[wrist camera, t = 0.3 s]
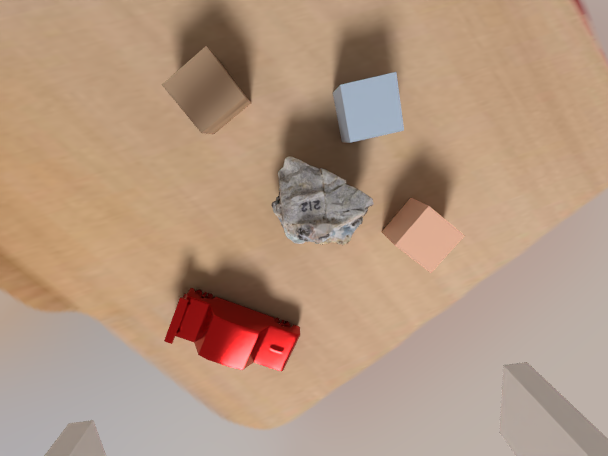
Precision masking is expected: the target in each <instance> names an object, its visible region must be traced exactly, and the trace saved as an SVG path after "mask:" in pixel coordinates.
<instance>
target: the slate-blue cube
mask: <svg viewBox="0 0 608 456" xmlns="http://www.w3.org/2000/svg"><path fill="white" fill-rule="evenodd" d="M333 97H334V102H335V107H336V113H337V118H338V124H339V129H340V135H341V140H342V142H346V143H351V142H356V141H360V140H364V139H369V138H373V137H377V136H382V135H386V134H391V133H395V132H399V131H404V126H403V119H402V111H401V104H400V96H399V89H398V81H397V74H396V72H394V73H389V74H385V75H381V76H376V77H372V78H368V79H363V80H359V81H355V82H350V83H346V84H342V85H340V86H339V87H338V88H337V89H336V90H335V91H334V92H333Z"/></svg>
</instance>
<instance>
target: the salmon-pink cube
mask: <svg viewBox="0 0 608 456" xmlns="http://www.w3.org/2000/svg"><path fill="white" fill-rule="evenodd" d="M382 233H383V234H384V235H385V236H386V237H387V238H388V239H389V240H390V241H391V242H392V243H393V244H394V245H395V246H397V247H398V248H399V249H400V250H402V251H403V252H404V253H406V254H407V255H408V256H409V257H411V258H412V259H413V260H415V261H416V262H417V263H419V264H420V265H421V266H422V267H424V268H425V269H426V270H428V271H429V272H430V273H432V271H433V270H434V269H435V268H436V267H437V266H438V265H439V264H440V263H441V262H442V260H443V259H444V258H445V257H446V256H447V255H448V254H449V253H450V252H451V250H452V249H453V248H454V247H455V246H456V245H457V244H458V243H459V242H460V241H461V239H462V238H463V237H464V236H465V235H464V234H462V233H461V232H460V231H459V230H458V229H456V228H455V227H454V226H453V225H451V224H450V223H449V222H448V221H447V220H445V219H444V218H443V217H442V216H441V215H439V214H438V213H437V212H436V211H435V210H433V209H432V208H431V207H430V206H428V205H426V204H424V203H422V202H420V201H417V200H415V199H413V198H410V199H409V200H408V201H407V202H406V204H405V205H404V206H403V207H402V208H401V210H400V211H399V212H398V213H397V214H396V215H395V217H394V218H393V219H392V220H391V221H390V223H389V224H388V225H387V226H386V227H385V228H384V230H383V231H382Z"/></svg>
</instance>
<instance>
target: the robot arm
mask: <svg viewBox="0 0 608 456" xmlns="http://www.w3.org/2000/svg"><path fill="white" fill-rule="evenodd" d="M499 433H500V434H501V436H502V437H503V438H504V440H505V441H506V443H507V444H508V445H509V447H510V448H511V450H512V451H513V452H514V454H515V455H516V456H608V438H607V437H605V436H604V435H603V434H602V433H601V432H600V431H599V430H598V429H597V428H596V427H595V426H594V425H593V424H592V423H591V422H590V421H588V420H587V418H585V417H584V416H583V415H582V414H581V413H580V412H579V411H578V410H577V409H576V408H575V407H574V406H573V405H572V404H571V403H570V402H569V401H568V400H566V399H565V398H564V397H563V396H562V395H561V394H560V393H559V392H558V391H557V390H556V389H555V388H554V387H553V386H552V385H551V384H550V383H548V382H547V381H546V380H545V379H544V378H543V377H542V376H541V375H540V374H539V373H538V372H537V371H536V370H535V369H534V368H533V367H532V366H530V365H529V364H528V363H527V362H524V363H517V364H509V365H503V381H502V397H501V414H500V432H499ZM45 456H106V454H105V451H104V448H103V446H102V443H101V440H100V437H99V434H98V432H97V429H96V426H95V424H94V421H93V420H91V421H84V422H76V423H69V424H68V425H67V427H66V428H65V429H64V431H63V432H62V433H61V435H60V436H59V437H58V438H57V440H56V441H55V442H54V444H53V445H52V446H51V448H50V449H49V450H48V452H47V453H46V454H45Z"/></svg>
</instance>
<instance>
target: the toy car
mask: <svg viewBox="0 0 608 456" xmlns="http://www.w3.org/2000/svg"><path fill="white" fill-rule="evenodd" d="M206 294H207V293H206V292H205V293H204V295H202V291H201V290H197V291H195V292H194V289H193V288H191V289H190V290H189V292H188V293H187V294H184V297H183V298H181V297H180V299H179V302H178V305H177V308H176V310H175V313H174V316H173V318H172V321H171V324H170V327H169V329H168V332H167V335H166V337H165V340H164V341H165V342H168V343H171V344H172V343H173V340H174V338H175V336H177V337H180V338H183V339H186V340H189V341H192V342H194V343H195V346H196V349H197V352H198V355H200V356H202V357H204V358H206V359H207V360H210V361H213V362H216V363H219V364H222V365H225V366H228V367H232V368H236V369H240V370H243V369H244V368H246V367H247V366H249V365H250V364H252V363H253V362H254V363H257V364H260V365H263V366H266V367H269V368H272V369H275V370H278V371H283V370H284V368H285V366H286V364H287V362H288V360H289V357H290V355H291V353H292V351H293V349H294V347H295V345H296V343H297V341H298V339H299V337H300V327H299V326H296V325H293V326H292V327H291V325H290V323H289V322H288V321H285V323H284V324H283V322H284V320H282V323H281V322H280V321H279V318H275V319H274V318H273V317H271V316H268V315H266V314H263V313H260V312H257V311H254V310H252V309H249V308H246V307H243V306H241V305H238V304H235V303H232V302H229V301H227V300H224V299H221V298H218V297H215V298H214V299H213V295H212V294H209V293H208V296H205V295H206ZM201 295H202V296H201ZM185 296H186V297H185ZM201 297H202V298H201ZM205 297H207V298H205ZM184 298H185V299H184ZM278 322H279V323H280V324H279V323H278Z"/></svg>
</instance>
